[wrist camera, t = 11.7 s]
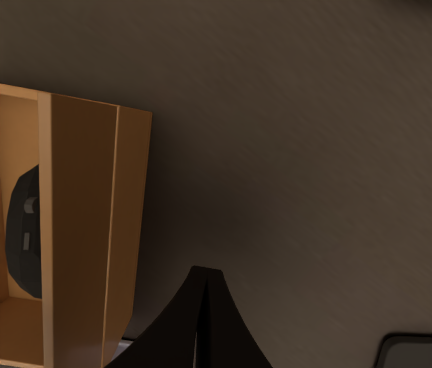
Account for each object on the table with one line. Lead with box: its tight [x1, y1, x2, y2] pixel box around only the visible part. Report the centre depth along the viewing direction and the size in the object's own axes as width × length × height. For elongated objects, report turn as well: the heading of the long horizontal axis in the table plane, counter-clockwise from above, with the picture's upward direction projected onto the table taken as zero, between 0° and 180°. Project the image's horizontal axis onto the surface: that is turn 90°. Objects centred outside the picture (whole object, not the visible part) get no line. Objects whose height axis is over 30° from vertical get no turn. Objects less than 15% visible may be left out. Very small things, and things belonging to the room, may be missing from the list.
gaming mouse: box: [5, 164, 42, 299], centre depth 16 cm, size 6×15×4 cm, turn 0°
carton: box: [0, 84, 153, 368], centre depth 16 cm, size 18×12×6 cm, turn 170°
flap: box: [37, 91, 117, 368], centre depth 10 cm, size 18×6×1 cm
